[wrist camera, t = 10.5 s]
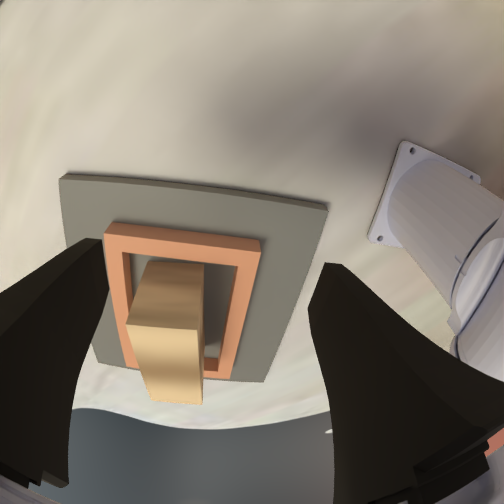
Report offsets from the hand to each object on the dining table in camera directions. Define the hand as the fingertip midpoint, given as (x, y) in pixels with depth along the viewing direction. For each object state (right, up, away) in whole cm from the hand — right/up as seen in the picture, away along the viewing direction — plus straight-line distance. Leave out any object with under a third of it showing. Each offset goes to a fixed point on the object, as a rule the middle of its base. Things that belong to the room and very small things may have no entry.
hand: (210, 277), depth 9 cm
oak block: (-4, -4, +13) cm, 14 cm away
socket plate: (-4, -3, +14) cm, 15 cm away
